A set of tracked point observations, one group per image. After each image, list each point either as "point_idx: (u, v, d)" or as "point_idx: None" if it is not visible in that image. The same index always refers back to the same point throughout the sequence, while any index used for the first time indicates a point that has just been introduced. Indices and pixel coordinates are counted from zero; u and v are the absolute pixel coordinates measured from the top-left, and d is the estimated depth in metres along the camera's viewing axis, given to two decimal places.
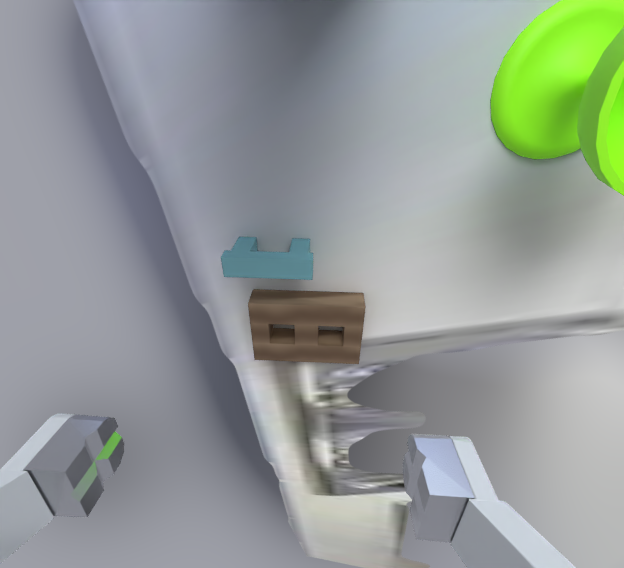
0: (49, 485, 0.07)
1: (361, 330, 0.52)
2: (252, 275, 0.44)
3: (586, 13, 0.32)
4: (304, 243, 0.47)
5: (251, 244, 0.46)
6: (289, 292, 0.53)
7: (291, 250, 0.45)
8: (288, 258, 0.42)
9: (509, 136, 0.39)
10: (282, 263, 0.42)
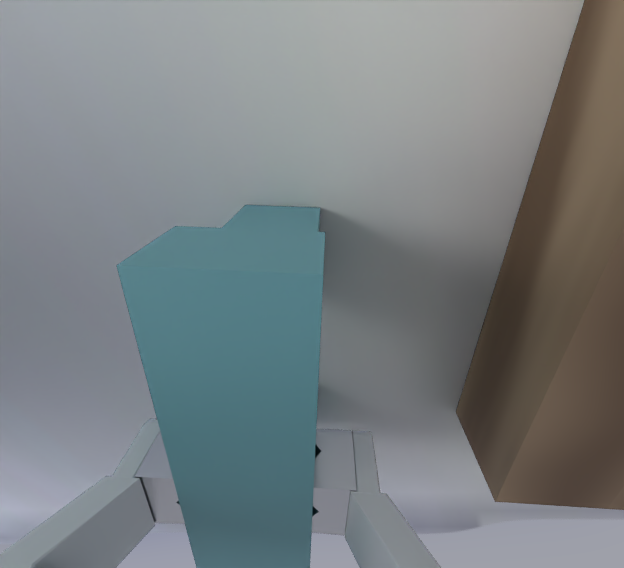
0: (157, 492, 0.07)
1: None
2: (295, 562, 0.08)
3: None
4: None
5: None
6: (498, 306, 0.12)
7: None
8: (163, 409, 0.06)
9: None
10: (196, 448, 0.06)
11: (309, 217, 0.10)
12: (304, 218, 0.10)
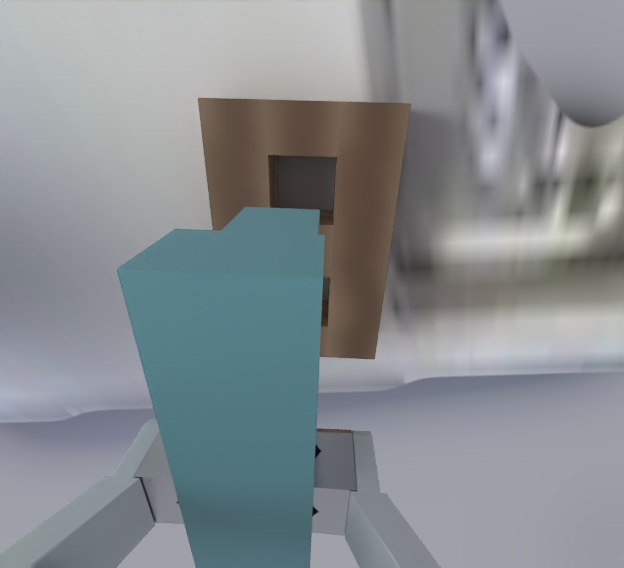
0: (157, 492, 0.07)
1: (276, 104, 0.18)
2: (295, 564, 0.08)
3: None
4: None
5: None
6: None
7: None
8: (163, 411, 0.06)
9: None
10: (196, 451, 0.06)
11: (309, 219, 0.10)
12: (304, 220, 0.10)
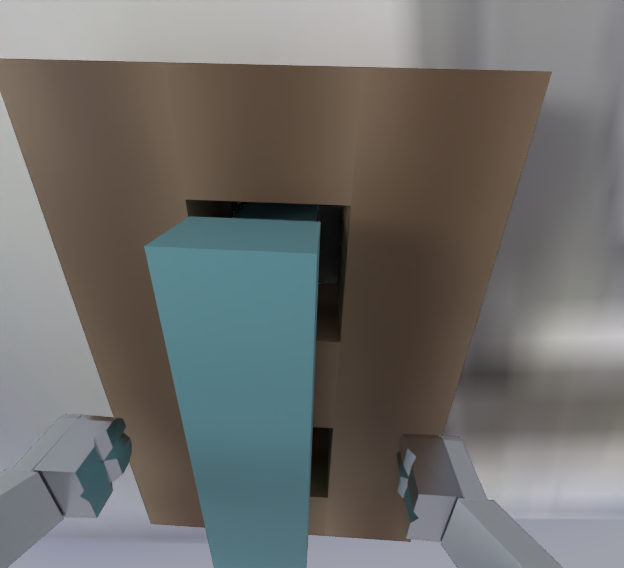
0: (59, 486, 0.07)
1: (192, 75, 0.07)
2: (294, 521, 0.09)
3: None
4: None
5: None
6: None
7: None
8: (178, 376, 0.07)
9: None
10: (207, 411, 0.07)
11: (308, 211, 0.11)
12: (303, 212, 0.11)
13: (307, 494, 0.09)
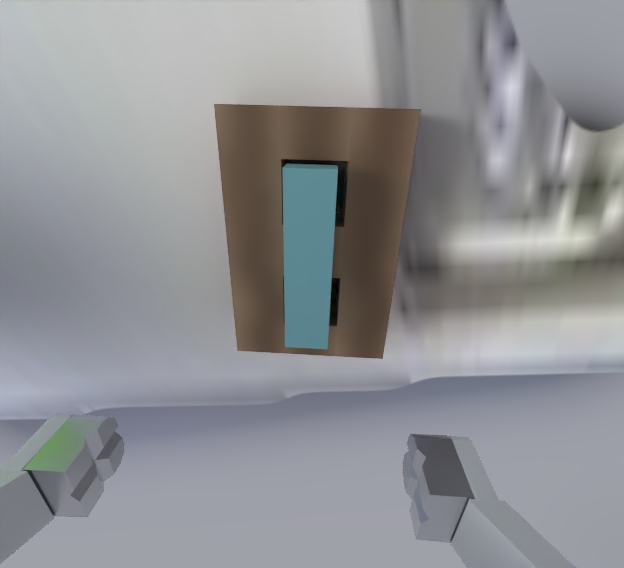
0: (49, 485, 0.07)
1: (289, 110, 0.19)
2: (324, 300, 0.21)
3: None
4: None
5: None
6: None
7: None
8: (283, 223, 0.19)
9: None
10: (294, 237, 0.19)
11: None
12: None
13: None
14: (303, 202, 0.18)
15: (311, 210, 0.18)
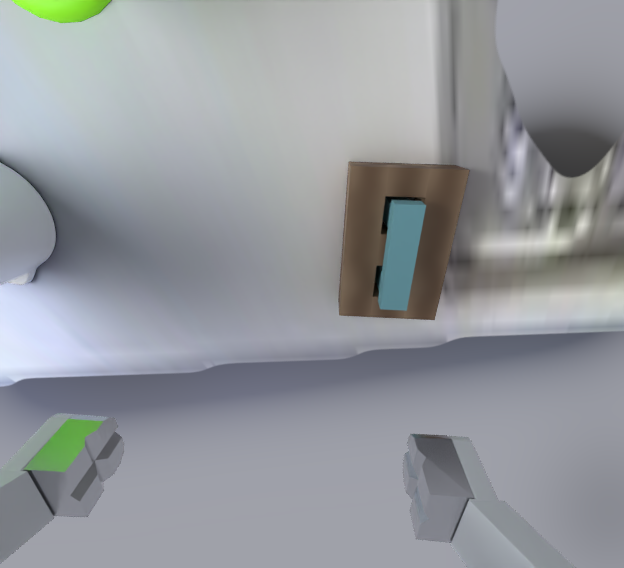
0: (49, 485, 0.07)
1: (394, 169, 0.33)
2: (408, 279, 0.35)
3: None
4: (386, 206, 0.37)
5: (379, 268, 0.40)
6: (341, 261, 0.42)
7: (388, 225, 0.36)
8: (390, 234, 0.33)
9: None
10: (396, 242, 0.33)
11: (407, 199, 0.37)
12: (406, 200, 0.37)
13: None
14: (404, 222, 0.32)
15: (408, 227, 0.33)
